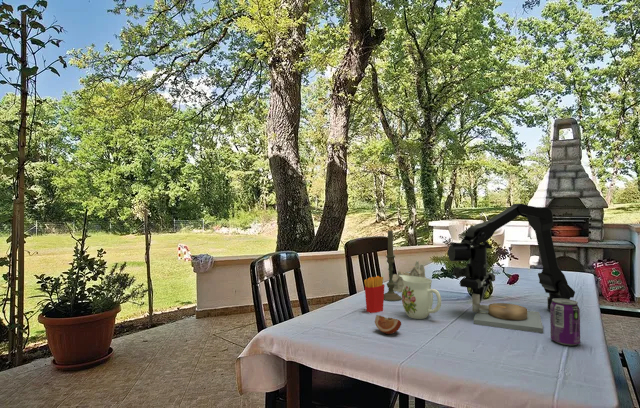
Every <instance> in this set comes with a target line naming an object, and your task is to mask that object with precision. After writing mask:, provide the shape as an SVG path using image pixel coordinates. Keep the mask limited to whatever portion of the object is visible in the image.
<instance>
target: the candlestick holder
mask: <svg viewBox="0 0 640 408" xmlns="http://www.w3.org/2000/svg"><path fill="white" fill-rule="evenodd" d="M385 257H386V258H387V259H386V262H387V263H388V269H387V270H388V278H389V279H388V282H387V283H386V287H387V288H388V291H387V292H384V302H385V301H387V302H399V301H402V295H399V294H398V293H396V291H393V288H394V286H395V283H393V280H392V277H393V274H394V273H393V271H394V268H393V267H394V266H393V264H394V263H395V258H396V256H395V255H394V230H392V229H390V230H387V255H386V256H385Z"/></svg>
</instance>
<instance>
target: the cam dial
mask: <svg viewBox="0 0 640 408" xmlns="http://www.w3.org/2000/svg"><path fill="white" fill-rule="evenodd" d="M471 300H472V301H471V303H472V304H471V307H472V308H471V309H472V312H473V313H476V312H480V310H485V311H488V313H489V314H490V315H491V316H494V317H497V318H501V319H507V320H524V319H527V311H528V308H526V307H524V306H522V305H520V304H519V305H518V304H513V303H508V302H507V303H505V302H497V303H496V302H493V303H490V304H488V305H486V304H481V303H480V294H474V293H472V294H471Z"/></svg>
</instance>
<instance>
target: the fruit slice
mask: <svg viewBox="0 0 640 408" xmlns="http://www.w3.org/2000/svg"><path fill="white" fill-rule="evenodd" d="M374 324H375V326H376V328H377V330H379V331H380V332H381V333H383V334H386V335H391V334H394V333H396V332H398V330H399V329H400V328H401V326H402V321H400V319H396V318H392V317H385V316H382V315H378V314H377V315H376V316H375V320H374Z"/></svg>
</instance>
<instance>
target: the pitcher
mask: <svg viewBox="0 0 640 408" xmlns="http://www.w3.org/2000/svg"><path fill="white" fill-rule="evenodd" d="M399 276H400V277H401V278H402V279H403V284H404V286H403V289H402V293H401V298H402V299H401V303H402V307H403V309H404V312H405V314H406V315H407V317H409V318H410V319H417V320H424V319H427V318H428V316H429V315H430V314H435V313H437V312H438V311H440V310H441V306H442V296H441V294H440V292H439V291H438V290H437V289H436V288H432V282H433V280H432V279H430V278H427V277H426V278H423V277H416V276H408V275H399ZM433 294H435V296H436V299H437V302H436V303H437V304H436V306H435V307H434V308H433V304H434V303H433V302H434V295H433ZM432 308H433V309H432Z"/></svg>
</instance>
